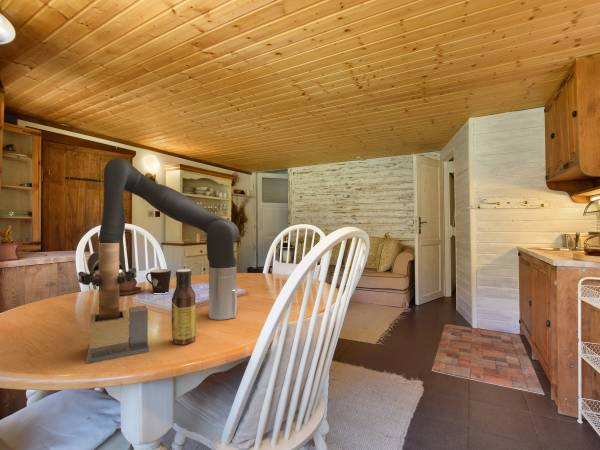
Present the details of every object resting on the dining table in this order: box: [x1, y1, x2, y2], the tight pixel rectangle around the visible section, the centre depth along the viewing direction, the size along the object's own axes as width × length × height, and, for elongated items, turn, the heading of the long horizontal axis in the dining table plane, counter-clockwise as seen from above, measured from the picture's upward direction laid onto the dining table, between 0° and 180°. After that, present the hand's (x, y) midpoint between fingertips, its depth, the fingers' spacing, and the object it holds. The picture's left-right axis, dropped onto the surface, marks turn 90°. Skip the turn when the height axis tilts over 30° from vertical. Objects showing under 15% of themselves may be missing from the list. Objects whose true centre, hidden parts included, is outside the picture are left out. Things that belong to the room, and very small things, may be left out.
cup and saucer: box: [119, 278, 143, 296], centre depth 140 cm, size 12×12×6 cm
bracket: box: [86, 304, 150, 364], centre depth 81 cm, size 10×13×10 cm
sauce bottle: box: [171, 268, 197, 345], centre depth 87 cm, size 7×6×20 cm
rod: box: [98, 243, 120, 321], centre depth 80 cm, size 4×4×22 cm
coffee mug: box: [145, 268, 172, 294], centre depth 143 cm, size 12×9×10 cm
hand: (109, 281), depth 77 cm, fingers closed on rod, 4 cm apart
